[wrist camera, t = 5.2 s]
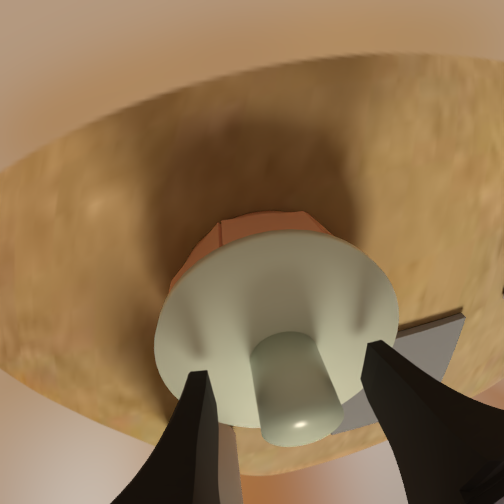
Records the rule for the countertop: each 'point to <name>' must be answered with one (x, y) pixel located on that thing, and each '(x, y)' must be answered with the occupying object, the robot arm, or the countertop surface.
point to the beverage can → (228, 467)
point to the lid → (277, 330)
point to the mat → (420, 354)
